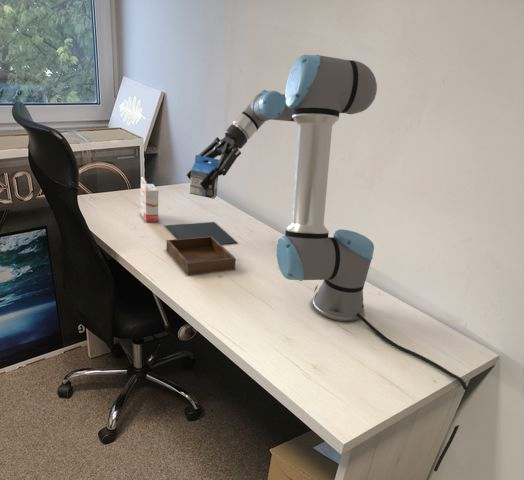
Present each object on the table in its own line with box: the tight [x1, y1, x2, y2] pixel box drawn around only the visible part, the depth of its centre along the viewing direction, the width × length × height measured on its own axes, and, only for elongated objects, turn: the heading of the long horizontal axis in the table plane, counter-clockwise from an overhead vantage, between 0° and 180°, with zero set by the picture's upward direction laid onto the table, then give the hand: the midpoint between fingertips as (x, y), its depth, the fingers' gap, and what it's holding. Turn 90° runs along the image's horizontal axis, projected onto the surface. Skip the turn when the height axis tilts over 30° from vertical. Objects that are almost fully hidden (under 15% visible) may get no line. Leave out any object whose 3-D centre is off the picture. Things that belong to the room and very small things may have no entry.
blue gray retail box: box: [189, 154, 220, 200], centre depth 163 cm, size 9×4×12 cm, turn 76°
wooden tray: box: [165, 236, 237, 276], centre depth 158 cm, size 19×17×4 cm
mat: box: [165, 221, 238, 246], centre depth 177 cm, size 20×20×1 cm
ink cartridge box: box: [140, 176, 159, 223], centre depth 180 cm, size 9×5×15 cm, turn 25°
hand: (195, 182), depth 162 cm, fingers closed on blue gray retail box, 9 cm apart
